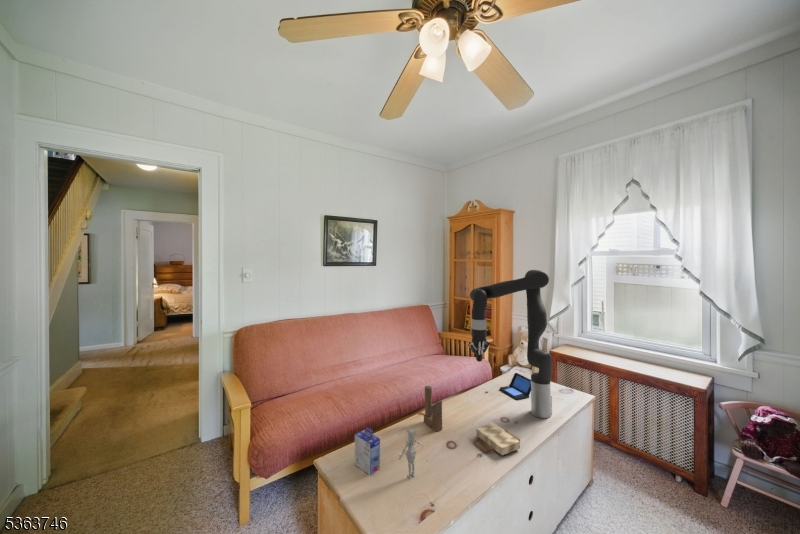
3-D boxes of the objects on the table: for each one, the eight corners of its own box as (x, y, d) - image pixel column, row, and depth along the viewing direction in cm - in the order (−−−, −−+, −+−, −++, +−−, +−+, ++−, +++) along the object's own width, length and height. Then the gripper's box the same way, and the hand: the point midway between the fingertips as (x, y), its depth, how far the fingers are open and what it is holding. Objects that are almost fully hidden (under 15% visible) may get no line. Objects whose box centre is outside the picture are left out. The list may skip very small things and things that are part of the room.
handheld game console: (498, 390, 181) (498, 375, 181) (515, 386, 186) (515, 372, 186) (517, 401, 167) (517, 385, 166) (535, 396, 172) (534, 381, 171)
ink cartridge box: (381, 468, 114) (380, 432, 114) (370, 476, 110) (369, 438, 110) (365, 457, 121) (364, 422, 120) (354, 464, 117) (353, 428, 116)
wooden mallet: (436, 432, 137) (435, 394, 137) (423, 421, 147) (422, 386, 146) (442, 429, 139) (442, 392, 139) (429, 419, 149) (428, 384, 148)
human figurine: (420, 467, 114) (419, 422, 114) (426, 472, 111) (426, 426, 111) (395, 482, 107) (395, 433, 106) (402, 488, 104) (401, 438, 103)
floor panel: (506, 431, 137) (506, 429, 137) (519, 441, 129) (519, 439, 129) (473, 443, 129) (473, 440, 129) (486, 453, 121) (486, 451, 121)
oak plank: (493, 422, 137) (519, 441, 123) (493, 429, 137) (519, 449, 123) (476, 428, 133) (501, 448, 119) (476, 435, 133) (502, 456, 119)
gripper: (473, 330, 143) (473, 365, 144) (493, 327, 149) (494, 361, 149) (463, 327, 150) (464, 361, 150) (483, 324, 156) (484, 357, 156)
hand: (479, 361), depth 150 cm, fingers closed
